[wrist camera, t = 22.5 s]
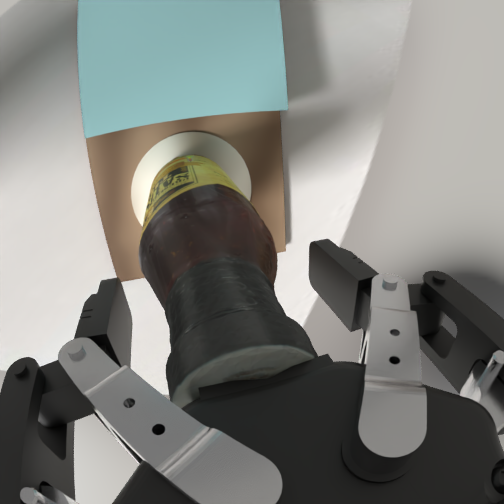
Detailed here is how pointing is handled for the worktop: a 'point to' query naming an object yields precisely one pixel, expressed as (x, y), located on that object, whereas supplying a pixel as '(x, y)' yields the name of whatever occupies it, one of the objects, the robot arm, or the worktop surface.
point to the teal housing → (177, 60)
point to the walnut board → (176, 145)
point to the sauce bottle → (214, 281)
